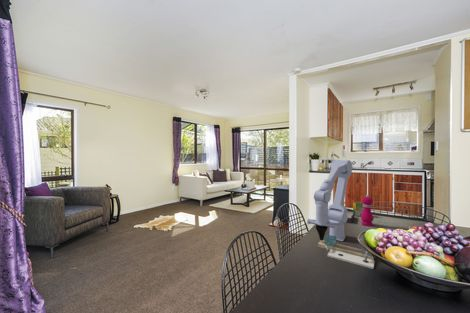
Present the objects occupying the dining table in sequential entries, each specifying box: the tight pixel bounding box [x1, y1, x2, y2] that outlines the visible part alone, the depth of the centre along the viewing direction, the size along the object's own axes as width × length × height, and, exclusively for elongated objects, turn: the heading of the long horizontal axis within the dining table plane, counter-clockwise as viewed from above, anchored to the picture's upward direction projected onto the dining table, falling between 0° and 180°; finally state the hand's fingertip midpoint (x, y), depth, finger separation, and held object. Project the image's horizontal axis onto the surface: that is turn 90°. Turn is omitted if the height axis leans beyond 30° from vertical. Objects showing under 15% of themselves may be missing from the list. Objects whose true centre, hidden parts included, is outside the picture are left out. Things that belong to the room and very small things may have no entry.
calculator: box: [345, 212, 355, 224], centre depth 154 cm, size 11×4×15 cm
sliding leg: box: [324, 234, 337, 252], centre depth 107 cm, size 10×4×4 cm, turn 144°
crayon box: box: [352, 200, 364, 217], centre depth 163 cm, size 7×3×12 cm, turn 99°
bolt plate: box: [326, 249, 375, 270], centre depth 97 cm, size 7×18×1 cm, turn 54°
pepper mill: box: [360, 194, 374, 227], centre depth 142 cm, size 7×7×20 cm
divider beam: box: [317, 239, 375, 261], centre depth 103 cm, size 11×24×5 cm, turn 54°
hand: (321, 239), depth 112 cm, fingers closed
